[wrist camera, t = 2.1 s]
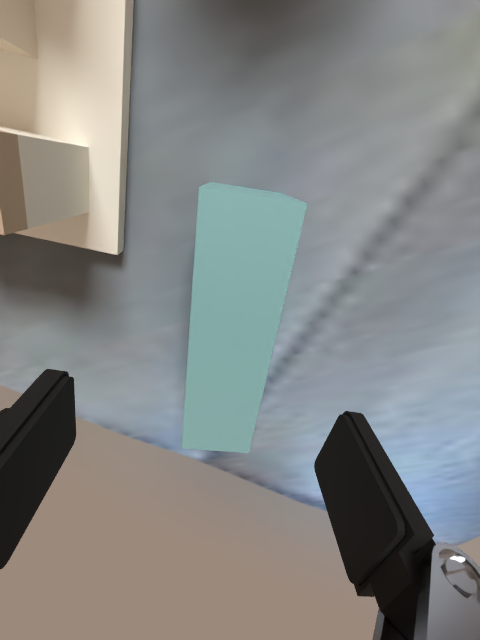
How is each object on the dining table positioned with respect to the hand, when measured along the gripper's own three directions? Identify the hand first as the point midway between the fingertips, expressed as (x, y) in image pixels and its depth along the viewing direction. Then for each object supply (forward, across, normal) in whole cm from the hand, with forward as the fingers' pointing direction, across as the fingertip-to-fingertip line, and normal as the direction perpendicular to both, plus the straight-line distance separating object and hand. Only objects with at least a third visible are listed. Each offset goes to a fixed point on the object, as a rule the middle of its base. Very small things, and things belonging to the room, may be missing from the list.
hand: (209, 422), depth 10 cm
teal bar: (+10, -1, 0) cm, 10 cm away
